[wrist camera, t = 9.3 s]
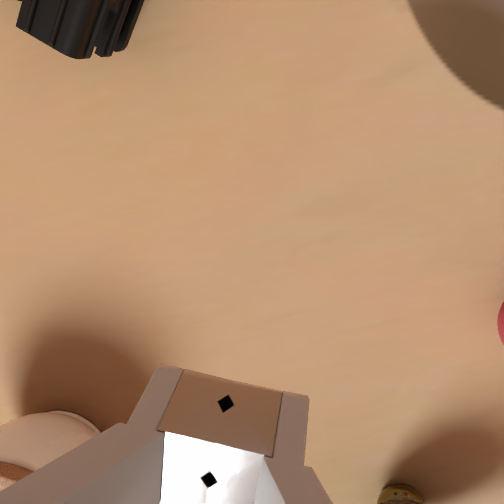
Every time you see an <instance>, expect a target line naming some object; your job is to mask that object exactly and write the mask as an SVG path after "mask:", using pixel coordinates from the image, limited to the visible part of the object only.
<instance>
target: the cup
mask: <svg viewBox="0 0 504 504" xmlns="http://www.w3.org/2000/svg"><path fill="white" fill-rule="evenodd" d="M377 504H425V503H424V501H423V499H422V497H421V496H420V494H419V493H418V492H417V491H416V490H415V489H413V488H411V487H409V486H406V485H392V486H389V487H387V488H385V489H384V490H383V491H382V492H381V493H380V495H379V498H378V501H377Z"/></svg>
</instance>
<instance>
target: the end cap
mask: <svg viewBox="0 0 504 504" xmlns="http://www.w3.org/2000/svg"><path fill="white" fill-rule="evenodd" d="M18 1H22V0H18ZM143 2H144V0H23V1H22V4H21V8H20V12H19V16H18V20H17V23H16V27H18V28H19V29H21V30H23V31H25V32H26V33H28V34H30V35H31V36H33V37H35V38H37V39H38V40H40V41H42V42H43V43H45V44H47V45H48V46H50V47H52V48H54V49H55V50H57V51H59V52H60V53H62V54H64V55H66V56H69V57H71V58H75V59H86V58H90V57H91V55H92V52H93V49H94V46H95V47H97V48H96V51H95V54H97V55H98V56H100V57H109V56H112V53H113V51H115V52H120V51H122V50H124V49H125V48H126V47H127V45H128V42H129V39H130V37H131V34H132V31H133V29H134V26H135V23H136V21H137V18H138V15H139V13H140V10H141V7H142V5H143Z"/></svg>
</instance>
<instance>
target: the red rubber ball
mask: <svg viewBox="0 0 504 504" xmlns="http://www.w3.org/2000/svg"><path fill="white" fill-rule="evenodd" d="M498 331H499V335H500V338H501V341H502V343H503V345H504V302H503V304H502V306H501V308H500V311H499V314H498Z"/></svg>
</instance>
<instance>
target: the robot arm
mask: <svg viewBox="0 0 504 504" xmlns="http://www.w3.org/2000/svg"><path fill="white" fill-rule="evenodd" d="M308 410H309V398H308V396H306V395H301V394H296V393H291V392H286V391H283V393H282V391H280V390H275V389H270V388H266V387H261V386H256V385H252V384H247V383H242V382H237V381H232V380H228V379H224V378H220V377H216V376H212V375H208V374H204V373H200V372H196V371H191V370H187V369H185V370H184V369H181V368H177V367H173V366H169V365H165V364H160V365H159V366H158V367H157V368H156V369H155V371H154V373H153V375H152V377H151V379H150V381H149V383H148V384H147V386H146V388H145V390H144V392H143V394H142V396H141V398H140V399H139V401H138V403H137V405H136V407H135V409H134V411H133V413H132V414H131V416H130V418H129V420H128V422H127V424H124V423H117V424H115V425H114V426H112V427H110V428H108V429H107V430H105V431H103V432H102V433H100V434H98V435H96V436H95V437H93V438H91V439H90V440H88V441H86V442H84V443H83V444H81V445H79V446H77V447H76V448H74V449H72V450H71V451H69V452H67V453H65V454H64V455H62V456H60V457H59V458H57V459H55V460H53V461H52V462H50V463H48V464H46V465H45V466H43V467H41V468H40V469H38V470H36V471H34V472H33V473H31V474H29V475H28V476H26V477H24V478H22V479H21V480H19V481H17V482H16V483H14V484H12V485H10V486H9V487H7V488H5V489H3V490H2V491H0V504H159V503H162V504H333V503H332V502H331V500H330V498H329V496H328V495H327V493H326V491H325V489H324V488H323V486H322V484H321V483H320V481H319V479H318V477H317V476H316V474H315V472H314V470H313V469H312V468H311V467H307V466H304V458H305V446H306V434H307V422H308Z"/></svg>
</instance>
